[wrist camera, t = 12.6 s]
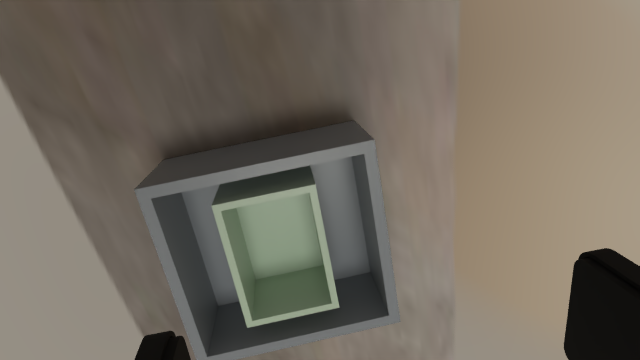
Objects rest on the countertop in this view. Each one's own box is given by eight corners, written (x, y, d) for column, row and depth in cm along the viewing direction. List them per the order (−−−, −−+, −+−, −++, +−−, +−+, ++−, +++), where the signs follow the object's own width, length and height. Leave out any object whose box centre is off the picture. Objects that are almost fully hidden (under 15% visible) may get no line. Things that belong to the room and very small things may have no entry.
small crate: (251, 282, 35) (247, 327, 29) (222, 177, 32) (211, 205, 26) (329, 265, 35) (339, 307, 30) (308, 159, 32) (315, 184, 26)
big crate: (163, 159, 32) (134, 189, 25) (354, 120, 32) (374, 139, 26) (213, 309, 37) (199, 367, 30) (378, 272, 37) (400, 321, 31)
